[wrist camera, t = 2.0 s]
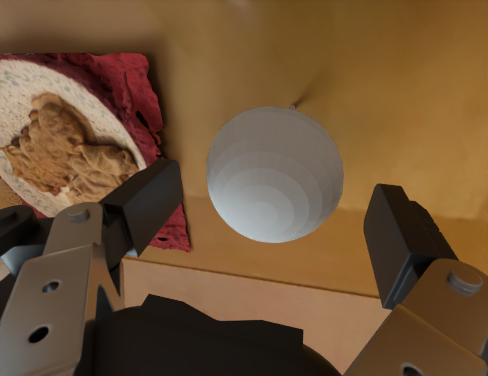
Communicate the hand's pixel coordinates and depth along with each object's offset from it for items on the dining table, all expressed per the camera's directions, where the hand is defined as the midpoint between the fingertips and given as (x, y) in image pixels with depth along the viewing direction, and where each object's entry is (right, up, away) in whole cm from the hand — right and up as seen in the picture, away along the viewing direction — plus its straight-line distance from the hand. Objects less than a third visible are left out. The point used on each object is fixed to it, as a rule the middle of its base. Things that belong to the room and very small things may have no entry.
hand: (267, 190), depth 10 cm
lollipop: (+3, +7, +11) cm, 13 cm away
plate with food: (-21, +3, +20) cm, 29 cm away
